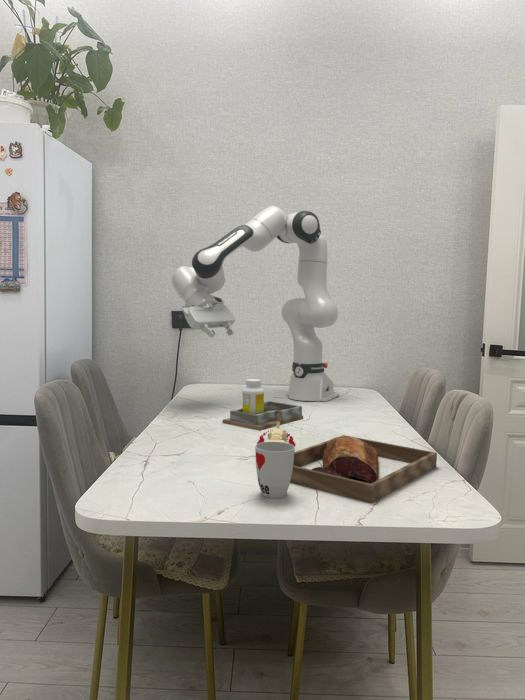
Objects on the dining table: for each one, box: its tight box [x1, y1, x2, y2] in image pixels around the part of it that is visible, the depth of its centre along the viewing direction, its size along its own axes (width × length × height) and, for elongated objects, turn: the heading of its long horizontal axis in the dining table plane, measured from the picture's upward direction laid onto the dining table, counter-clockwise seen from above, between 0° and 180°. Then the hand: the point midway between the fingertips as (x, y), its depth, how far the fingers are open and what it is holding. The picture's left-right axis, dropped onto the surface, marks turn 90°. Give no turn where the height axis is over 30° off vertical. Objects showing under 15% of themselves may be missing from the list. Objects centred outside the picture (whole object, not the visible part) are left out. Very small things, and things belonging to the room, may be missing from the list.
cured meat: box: [310, 435, 379, 484], centre depth 138 cm, size 18×25×7 cm
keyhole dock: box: [221, 400, 304, 431], centre depth 192 cm, size 23×15×4 cm, turn 142°
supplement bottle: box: [242, 378, 265, 415], centre depth 188 cm, size 7×7×13 cm
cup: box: [254, 441, 296, 499], centre depth 123 cm, size 8×8×10 cm
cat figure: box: [256, 413, 296, 447], centre depth 157 cm, size 10×9×25 cm
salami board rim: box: [290, 434, 438, 504], centre depth 140 cm, size 33×26×4 cm
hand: (222, 335), depth 203 cm, fingers open, 8 cm apart
